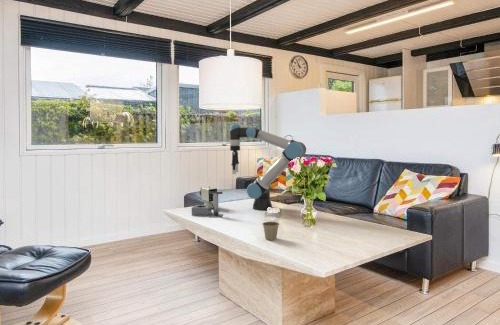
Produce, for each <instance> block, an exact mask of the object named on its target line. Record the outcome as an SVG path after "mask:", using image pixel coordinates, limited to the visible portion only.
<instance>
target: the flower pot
mask: <svg viewBox="0 0 500 325" xmlns="http://www.w3.org/2000/svg"><path fill="white" fill-rule="evenodd" d="M262 226H263V232H264V238H265V240H266V241H269V240H270V241H276V240H277V237H278V236H277V235H278V229H279V226H280V223H279V222H276V221H264V222H263V223H262ZM275 239H276V240H275Z"/></svg>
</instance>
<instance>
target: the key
mask: <svg viewBox="0 0 500 325" xmlns="http://www.w3.org/2000/svg"><path fill="white" fill-rule="evenodd" d="M208 194H213V201H212V202H213V208H212V209H213V214H214V216H218V215H219V214H220V213H219V210H220V209H219V195H223V191H217V192H208Z"/></svg>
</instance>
